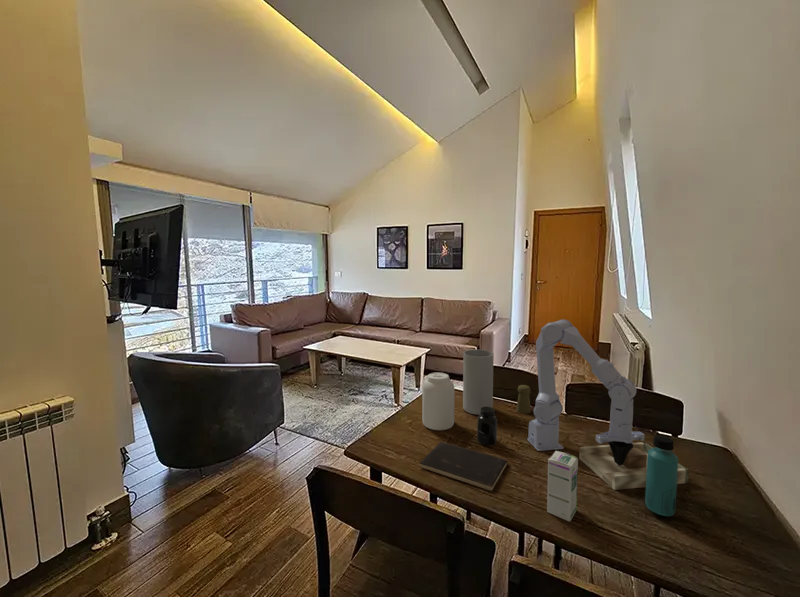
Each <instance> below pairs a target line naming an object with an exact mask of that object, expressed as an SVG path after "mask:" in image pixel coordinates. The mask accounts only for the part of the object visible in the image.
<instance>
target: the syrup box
mask: <svg viewBox="0 0 800 597" xmlns="http://www.w3.org/2000/svg"><path fill="white" fill-rule="evenodd" d="M578 465H579V458H578V457H577V456H575V455H572V454H570V453H568V452H562V451H559V450H555V451H554V452H553V454H552V455H551V456H550V457H549V458H548V459H547V491H546V492H547V495H546V497H547V498H546V502H547V503H546V511H547V513H549V514H551V515H553V516H555V517H557V518H560V519H562V520H564V521H567V522H568V523H569V522H571V521H572V520H573V518H574V517H575V516H574V515H575V514H576V512H577V510H578V507H577V506H578V480H579V479H578V472H579V471H578V470H579V469H578V468H579V466H578Z"/></svg>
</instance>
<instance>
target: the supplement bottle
mask: <svg viewBox="0 0 800 597" xmlns="http://www.w3.org/2000/svg"><path fill="white" fill-rule="evenodd" d="M495 412H496V411H495V408H494V407H493V408H491V407H482V408H481V412H480V415H477V422H476V423H477V424H476V425H477V426H476V428H477V430H476V432H477V433H476V440H477V442H478V443H479V444H480V445H482V446H483V445H484V446H488V447H489V446H494V445H496V443H497V440H498V438H497V436H498V418H497V417H496V416H495Z"/></svg>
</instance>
